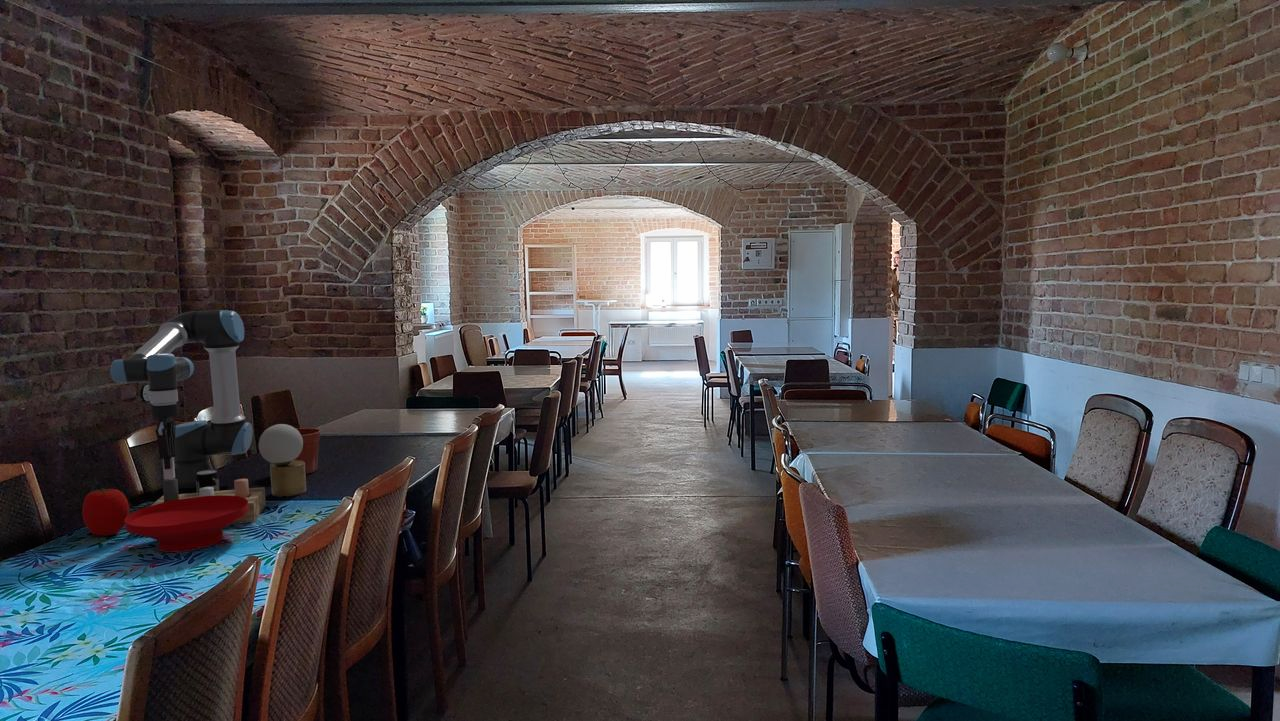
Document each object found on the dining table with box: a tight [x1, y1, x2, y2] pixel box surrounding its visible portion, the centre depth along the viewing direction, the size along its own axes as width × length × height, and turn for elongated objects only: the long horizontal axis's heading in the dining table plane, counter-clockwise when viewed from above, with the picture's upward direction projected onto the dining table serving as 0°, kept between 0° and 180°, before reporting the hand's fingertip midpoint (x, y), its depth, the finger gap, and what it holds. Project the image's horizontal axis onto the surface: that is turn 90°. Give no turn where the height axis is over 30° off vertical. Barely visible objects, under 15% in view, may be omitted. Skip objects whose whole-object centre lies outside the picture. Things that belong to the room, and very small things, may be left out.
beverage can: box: [195, 469, 220, 493], centre depth 257 cm, size 7×7×12 cm
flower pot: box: [294, 427, 322, 475], centre depth 305 cm, size 16×16×16 cm
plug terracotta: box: [233, 478, 249, 498], centre depth 247 cm, size 4×4×9 cm
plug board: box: [150, 486, 267, 525], centre depth 245 cm, size 20×30×6 cm, turn 107°
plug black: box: [162, 479, 179, 502], centre depth 241 cm, size 4×4×9 cm
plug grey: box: [199, 487, 214, 497], centre depth 245 cm, size 4×4×9 cm
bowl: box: [124, 495, 249, 553], centre depth 220 cm, size 30×30×10 cm
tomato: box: [81, 487, 130, 537], centre depth 230 cm, size 13×11×14 cm
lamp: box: [258, 423, 307, 498], centre depth 271 cm, size 15×14×25 cm
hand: (169, 478), depth 241 cm, fingers closed
